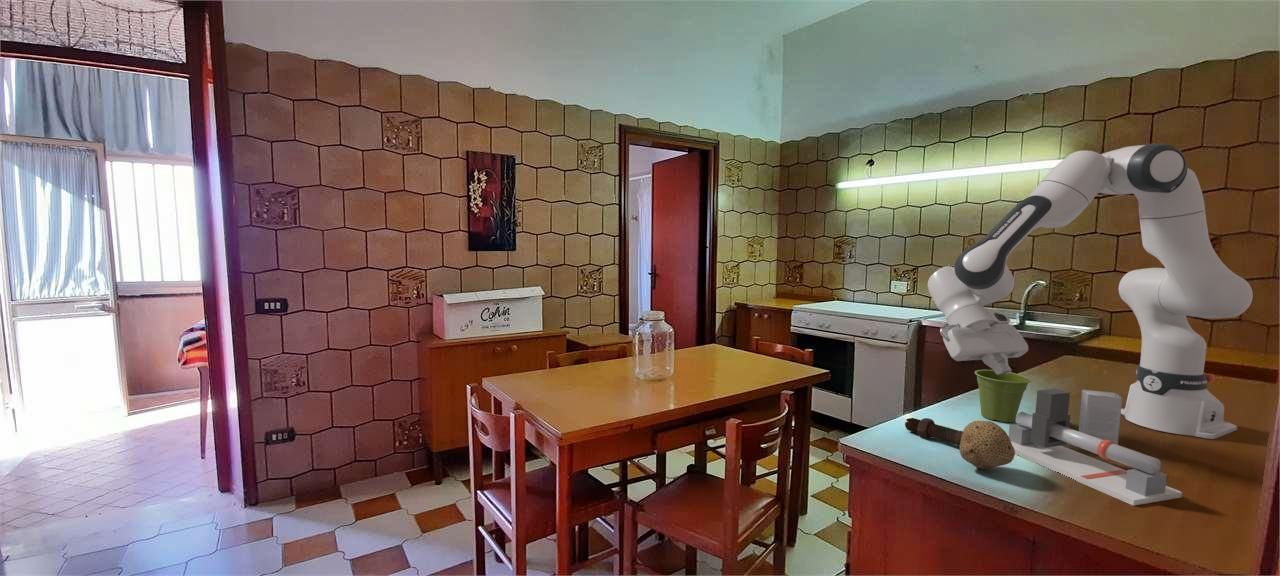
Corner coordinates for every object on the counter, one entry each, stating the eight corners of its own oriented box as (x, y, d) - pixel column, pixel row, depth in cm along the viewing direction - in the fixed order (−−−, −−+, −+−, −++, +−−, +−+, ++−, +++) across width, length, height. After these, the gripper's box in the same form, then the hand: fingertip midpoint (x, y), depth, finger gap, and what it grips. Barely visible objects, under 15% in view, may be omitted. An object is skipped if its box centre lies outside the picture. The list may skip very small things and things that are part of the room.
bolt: (909, 438, 126) (976, 458, 113) (898, 431, 124) (966, 452, 111) (916, 415, 127) (983, 433, 115) (906, 408, 125) (973, 426, 112)
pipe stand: (993, 444, 117) (996, 411, 116) (1034, 439, 120) (1037, 407, 119) (1133, 505, 91) (1137, 463, 90) (1181, 497, 94) (1186, 455, 94)
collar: (1030, 442, 112) (1034, 390, 111) (1053, 439, 114) (1057, 388, 112) (1044, 447, 109) (1049, 394, 108) (1067, 444, 111) (1072, 392, 109)
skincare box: (1110, 443, 118) (1115, 392, 117) (1117, 450, 115) (1123, 397, 113) (1076, 439, 121) (1081, 388, 120) (1082, 445, 117) (1088, 394, 116)
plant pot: (1011, 429, 127) (1015, 384, 125) (961, 414, 137) (964, 372, 136) (1036, 421, 132) (1040, 378, 131) (986, 407, 143) (989, 367, 141)
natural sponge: (1021, 473, 103) (1025, 424, 102) (999, 484, 99) (1003, 433, 98) (972, 456, 111) (975, 411, 110) (949, 466, 106) (953, 419, 105)
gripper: (945, 317, 124) (977, 368, 116) (1013, 315, 129) (1048, 363, 121) (929, 332, 129) (959, 382, 121) (995, 329, 134) (1028, 377, 126)
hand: (1004, 373), depth 121 cm, fingers closed
